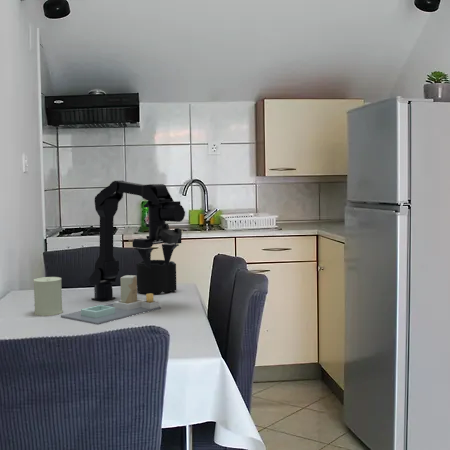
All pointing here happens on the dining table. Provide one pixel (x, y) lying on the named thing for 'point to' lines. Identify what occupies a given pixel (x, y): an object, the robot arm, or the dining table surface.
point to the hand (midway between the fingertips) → (158, 266)
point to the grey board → (107, 312)
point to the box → (129, 289)
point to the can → (48, 296)
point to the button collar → (149, 304)
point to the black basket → (156, 277)
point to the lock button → (149, 298)
